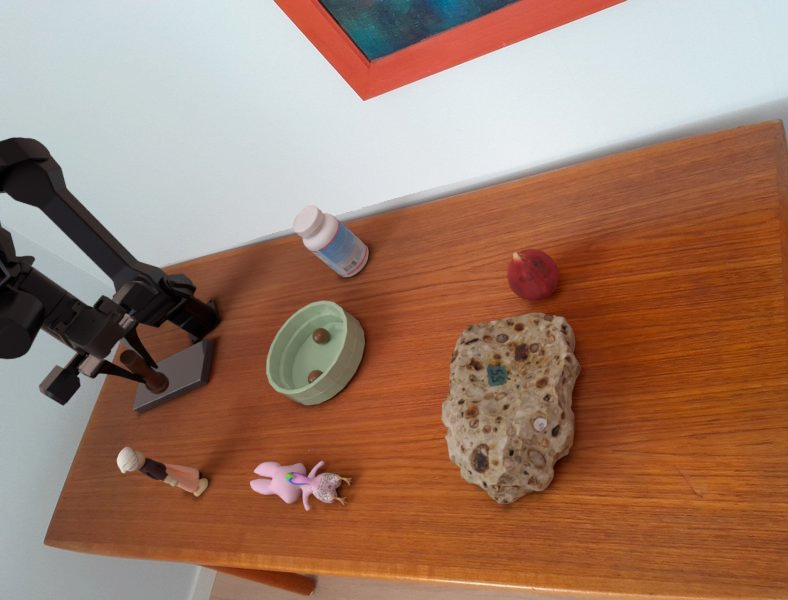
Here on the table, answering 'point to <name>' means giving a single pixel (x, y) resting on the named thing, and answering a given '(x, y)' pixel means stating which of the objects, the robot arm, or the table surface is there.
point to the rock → (511, 403)
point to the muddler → (145, 372)
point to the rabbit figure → (297, 483)
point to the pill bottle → (331, 241)
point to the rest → (178, 375)
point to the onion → (532, 274)
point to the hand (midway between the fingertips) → (151, 375)
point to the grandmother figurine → (162, 471)
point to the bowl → (315, 353)
